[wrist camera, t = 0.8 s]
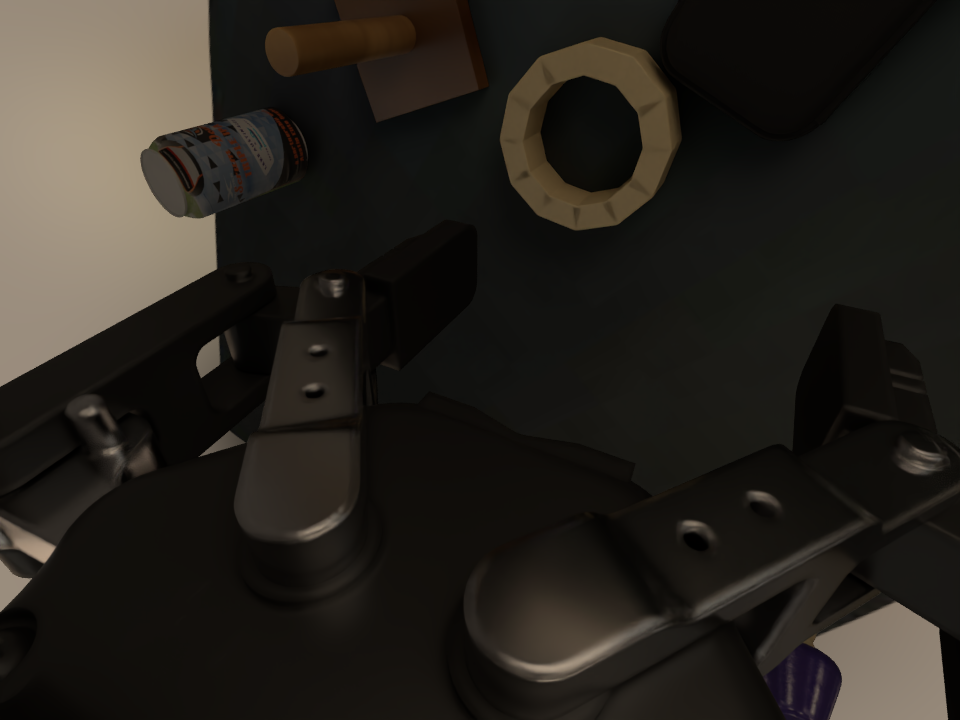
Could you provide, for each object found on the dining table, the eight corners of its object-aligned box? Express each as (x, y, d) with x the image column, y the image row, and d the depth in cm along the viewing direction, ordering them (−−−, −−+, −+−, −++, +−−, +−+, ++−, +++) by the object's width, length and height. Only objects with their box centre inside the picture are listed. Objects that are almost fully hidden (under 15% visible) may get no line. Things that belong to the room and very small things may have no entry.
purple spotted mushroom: (815, 543, 43) (812, 763, 31) (757, 514, 44) (733, 716, 32) (852, 509, 40) (866, 740, 28) (789, 480, 41) (775, 688, 29)
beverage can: (331, 163, 46) (216, 208, 37) (282, 193, 50) (169, 239, 41) (290, 88, 44) (158, 117, 35) (243, 126, 48) (116, 160, 39)
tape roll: (503, 69, 35) (482, 75, 33) (668, 14, 30) (656, 17, 27) (540, 223, 40) (524, 238, 37) (689, 200, 34) (680, 216, 32)
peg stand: (341, -20, 37) (186, -17, 28) (448, -77, 32) (303, -95, 23) (388, 118, 41) (265, 160, 32) (489, 86, 36) (379, 124, 27)
